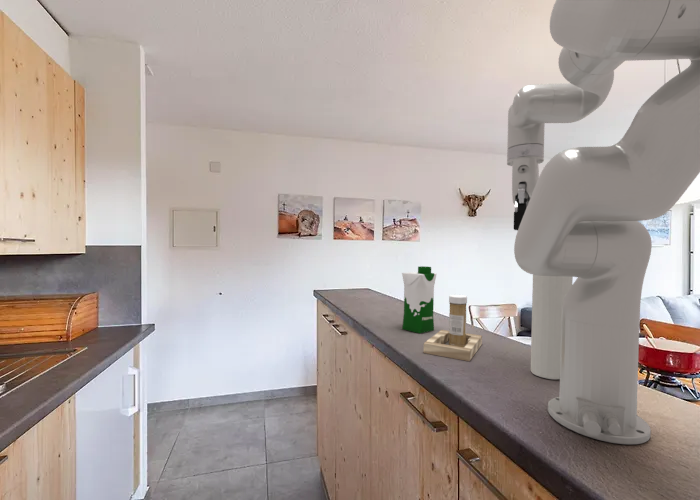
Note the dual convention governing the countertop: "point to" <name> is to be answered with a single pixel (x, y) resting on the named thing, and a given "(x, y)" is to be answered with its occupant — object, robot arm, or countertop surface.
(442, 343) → the wooden frame
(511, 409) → the countertop surface
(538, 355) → the paper towel roll
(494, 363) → the countertop surface
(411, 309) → the milk carton
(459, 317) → the sprinkles bottle
